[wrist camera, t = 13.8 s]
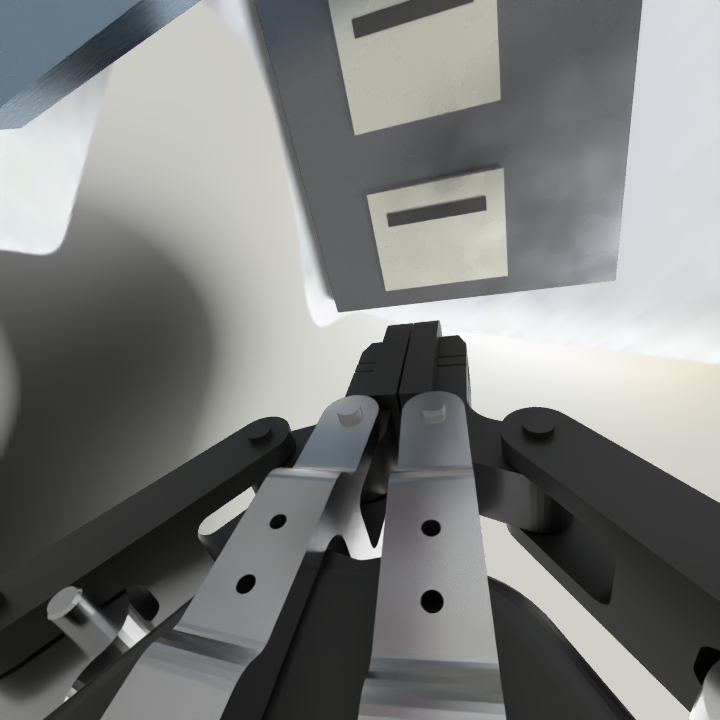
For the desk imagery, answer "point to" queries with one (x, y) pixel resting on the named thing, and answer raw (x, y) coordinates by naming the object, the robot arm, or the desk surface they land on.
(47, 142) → the desk surface
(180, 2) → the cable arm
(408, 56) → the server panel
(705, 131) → the desk surface
